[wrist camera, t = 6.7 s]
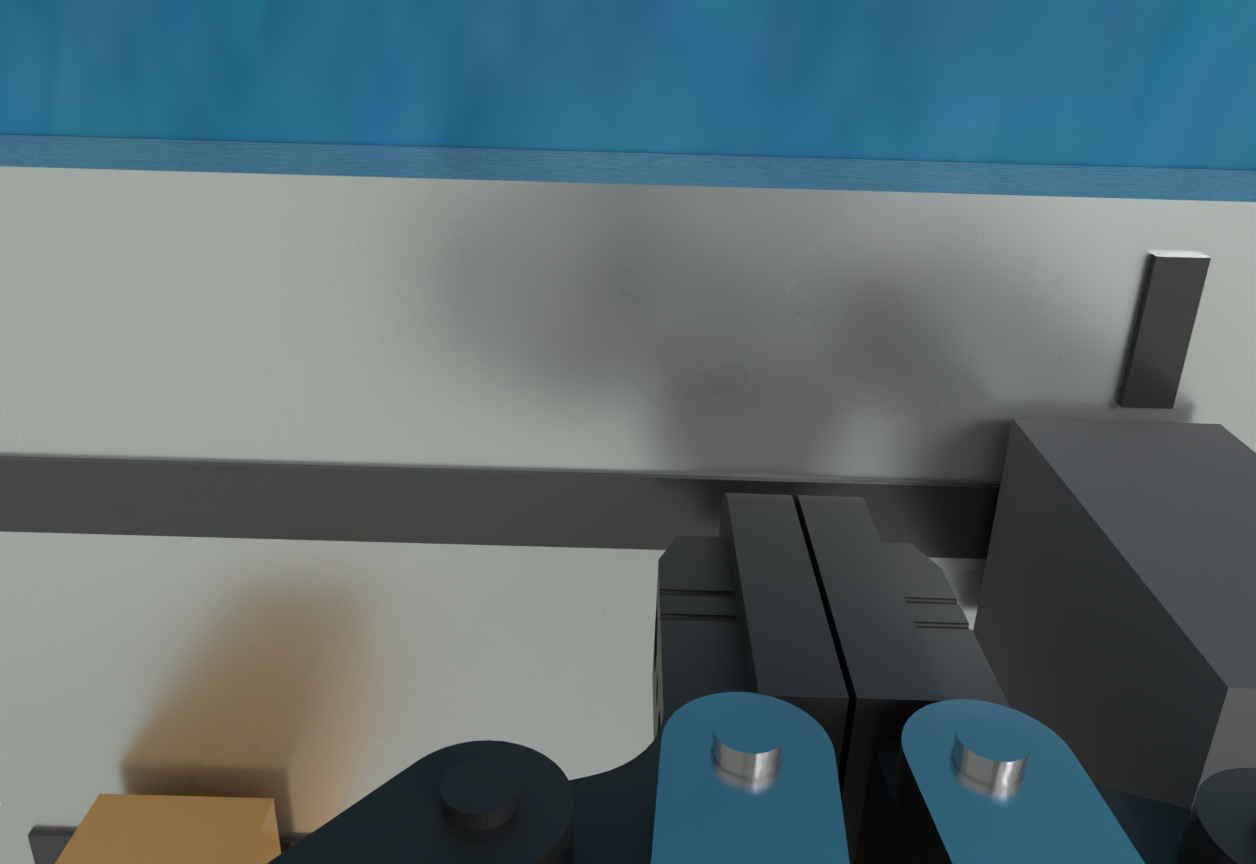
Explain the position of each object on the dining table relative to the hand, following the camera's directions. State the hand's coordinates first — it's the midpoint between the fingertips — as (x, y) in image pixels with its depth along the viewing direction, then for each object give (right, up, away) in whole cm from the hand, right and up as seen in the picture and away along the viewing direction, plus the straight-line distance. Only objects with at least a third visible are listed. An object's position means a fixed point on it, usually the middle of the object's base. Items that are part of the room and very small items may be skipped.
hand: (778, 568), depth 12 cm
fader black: (+4, 0, +1) cm, 4 cm away
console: (0, -1, +4) cm, 5 cm away
